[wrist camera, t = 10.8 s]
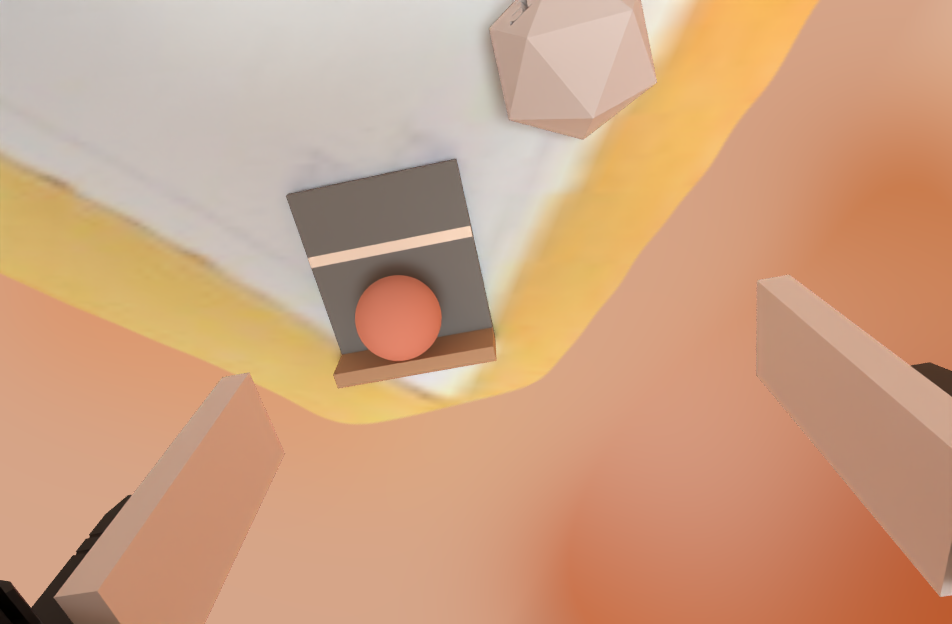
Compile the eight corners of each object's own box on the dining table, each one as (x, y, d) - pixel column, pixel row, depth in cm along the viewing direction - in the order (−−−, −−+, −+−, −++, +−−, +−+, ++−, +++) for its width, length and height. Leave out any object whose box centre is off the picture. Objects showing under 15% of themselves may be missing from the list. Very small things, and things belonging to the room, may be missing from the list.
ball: (355, 270, 42) (334, 304, 36) (434, 256, 41) (425, 288, 36) (377, 341, 44) (360, 383, 39) (452, 329, 43) (446, 369, 38)
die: (629, -43, 34) (549, -108, 26) (704, 82, 33) (643, 52, 25) (526, 56, 39) (433, 26, 31) (588, 167, 38) (507, 164, 30)
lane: (288, 194, 40) (271, 207, 37) (456, 158, 39) (454, 169, 35) (348, 363, 46) (338, 388, 42) (495, 337, 45) (496, 360, 41)
